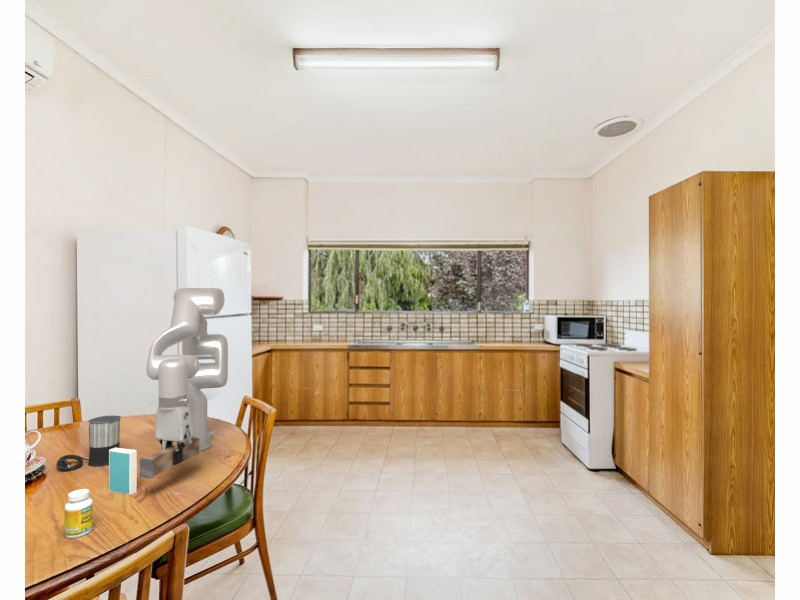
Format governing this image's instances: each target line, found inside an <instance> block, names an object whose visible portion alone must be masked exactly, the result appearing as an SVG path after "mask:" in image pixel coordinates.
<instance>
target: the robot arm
mask: <svg viewBox="0 0 800 600" xmlns="http://www.w3.org/2000/svg"><path fill="white" fill-rule="evenodd" d="M173 303H174V305H173V308H172V309H173V311H172V314H171V320H170V325H169V327H168V328H167V329H165V330H164V331H163V332H162V333H160V335H158V336H157V337H156V338H155V340H153V343H152V344H151V345H150V348H149V351H148V357H147V363H146V375H147V376H148V378H149V379H151V380H153V381H158V405H157V409H156V414H155V423H154V424H155V425H154V430H155V436H154V439H155V440H156V441H157V442H158V443H160V445H161V450H164V449H167V448H169V447H172V446H174V452H173V465H175V466H177V465H179V464H181V463H183V462H184V461H183V449H184V448H185V446H186V445H188V444H190V443H192V439H191V438H193V437H195V438H199V452H202V451H206V450H208V449H210V448H211V447H212V445H213V444H212V443H213V442H212V441H211V440H210V438H211V437H214V436H216V430H212V431H208V398H207V396H206V395H205V393H204V392H203V391H202V390H203V389H217V388H223V387H225V386H226V385H227V382H228V378H229V375H228V374H229V363H228V362H229V346H228V345H229V343H228V339H227V337H226V336H225V335H223V334H219V333H214V334H212V333H211V334H209V333H208V321H207V319H206V317H205V316H208V315H209V316H215V315H219V313H220V312H222V309H223V308H224V305H225V293H224V292H223V290H222V289H221V288H212V287H211V288H210V287H205V288H203V287H202V288H201V287H186V288H185V287H184V288H178V289H176V290H175V291H174V293H173ZM181 342H182V343H181ZM180 343H181V346H182V347H181V349H182V351H181V353H182V354H166V355H165V354H164V355H162V354H163V353H164V352H165V351H166V350H167V349H168V348H170V347H172V346H174V345H177V344H180ZM199 360H214V361H215V362H199ZM179 443H180V444H179ZM182 461H183V462H182Z"/></svg>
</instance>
